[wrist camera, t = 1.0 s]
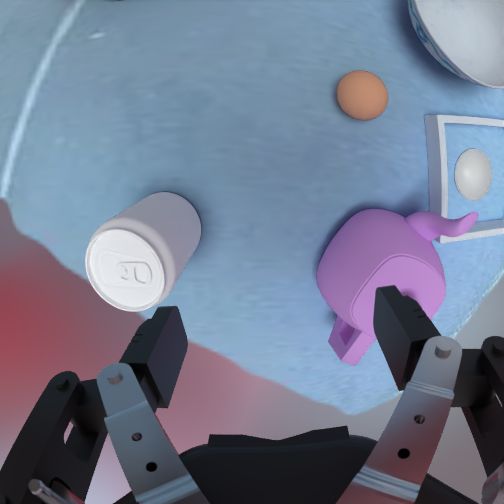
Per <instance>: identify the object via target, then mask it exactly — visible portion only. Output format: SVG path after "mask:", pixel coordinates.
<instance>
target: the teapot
mask: <svg viewBox="0 0 504 504" xmlns="http://www.w3.org/2000/svg"><path fill="white" fill-rule="evenodd" d="M477 218H478V213H477V212H472V213H469V214H467V215H466V216H464V217H462V218H460V219H455V220H453V219H447V218H444V217H442V216H440V215H438V214H435V213H433V212H429V211H419V212H416V213H413V214H411V215H409V216H407V217H403V216H401V215H399V214H397V213H394V212H391V211H387V210H382V209H367V210H363V211H361V212H358V213H357V214H355V215H354V216H352V217H351V218H350V219H349V220H348V221H347V222H346V223H345V224H344V225H343V226H342V227H341V229H340V230H339V231H338V232H337V233H336V235H335V236H334V237H333V239H332V240H331V242H330V243H329V245H328V247H327V248H326V250H325V252H324V254H323V256H322V258H321V260H320V263H319V265H318V269H317V274H316V279H317V285H318V288H319V290H320V292H321V294H322V296H323V298H324V299H325V301H326V302H327V304H328V305H329V306H330V307H331V309H332V310H333V311H334V312H335V313H336V314H337V315H338V316H337V318H336V321H335V324H334V327H333V329H332V332H331V335H330V338H329V340H328V342H329V344H330V345H331V347H332V348H333V350H334V351H335V353H336V354H337V356H338V357H339V359H340V360H341V361H343V362H346V363H348V364H351V365H354V366H355V365H356V364H357V363H358V362H359V360H360V359H361V358H362V356H363V355H364V354H365V352H366V351H367V350H368V348H369V347H370V346H371V344H372V343H373V342H374V340H375V339H377V338H376V335H375V333H374V328H373V315H374V303H375V292H376V288H377V287H383V286H390V285H395V286H396V287H397V288H398V290H399V291H400V293H401V294H402V296H406V295H408V296H410V297H411V298H413V299H414V300H416V301H417V302H418V303H419V305H420V306H421V307H422V310H424V312H425V313H426V314H427V316H428V317H429V319H430V320H431V318H432V317H433V316H434V315H435V313H436V312H437V311H438V309H439V308H440V306H441V304H442V303H443V301H444V298H445V294H446V283H445V276H444V270H443V266H442V263H441V261H440V258H439V256H438V254H437V252H436V250H435V248H434V247H433V245H432V243H431V241H432V240H434V239H435V238H436V237H438V236H441V235H444V236H447V237H458V236H461V235H463V234H465V233H466V232H467V231H469V230H470V229H471V228H472V226H473V225H474V224H475V222H476V221H477ZM355 329H356V330H355Z"/></svg>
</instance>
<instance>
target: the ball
mask: <svg viewBox="0 0 504 504" xmlns="http://www.w3.org/2000/svg"><path fill="white" fill-rule="evenodd" d="M337 99H338V102H339V104H340V106H341V108H342V109H343V110H344V111H345V112H346V113H347V114H348V115H350V116H352V117H353V118H356V119H360V120H370V119H373V118H376V117H377V116H379V115H380V114H381V113H382V112H383V111H384V110H385V108H386V106H387V102H388V93H387V89H386V87H385V85H384V83H383V82H382V81H381V79H380V78H379V77H377V76H376V75H374V74H373V73H370V72H368V71H362V70H357V71H352V72H350V73H348V74H346V75H345V76H344V77H343V78H342V79H341V80H340V82H339V84H338V87H337Z"/></svg>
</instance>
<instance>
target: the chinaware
mask: <svg viewBox="0 0 504 504" xmlns="http://www.w3.org/2000/svg"><path fill="white" fill-rule="evenodd" d="M408 9H409V14H410V18H411V21H412V24H413V27H414V29H415V31H416V33H417V35H418V37H419V38H420V40H421V42H422V43H423V45H424V46H425V47H426V49H427V50H428V51H429V52H430V53H431V55H432V56H433V57H434V58H435V59H436V60H437V61H438V62H439V63H441V64H442V65H443V66H444V67H445V68H447V69H448V70H450V71H451V72H452V73H454V74H456V75H457V76H459V77H461V78H463V79H465V80H467V81H470V82H472V83H475V84H478V85H481V86H485V87H490V88H497V89H501V88H504V0H408Z"/></svg>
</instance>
